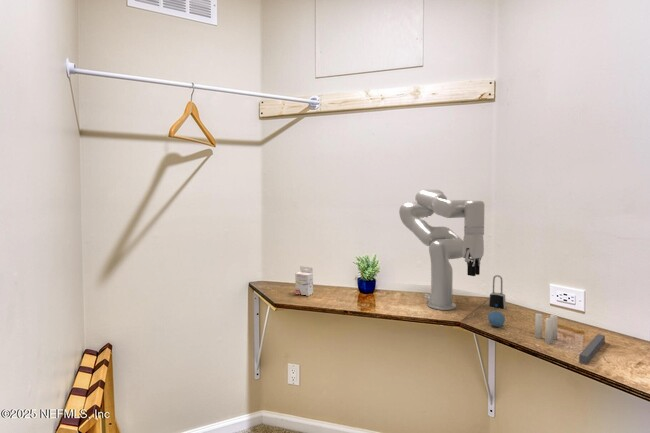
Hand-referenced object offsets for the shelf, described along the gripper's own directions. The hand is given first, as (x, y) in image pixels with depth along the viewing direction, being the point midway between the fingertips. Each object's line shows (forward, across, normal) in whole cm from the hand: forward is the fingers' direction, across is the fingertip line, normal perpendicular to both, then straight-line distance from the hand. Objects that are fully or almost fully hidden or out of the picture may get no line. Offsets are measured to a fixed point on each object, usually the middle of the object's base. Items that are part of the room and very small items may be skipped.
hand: (473, 274), depth 145 cm
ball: (+16, 0, +10) cm, 19 cm away
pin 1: (+19, +2, +28) cm, 34 cm away
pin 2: (+19, -2, +28) cm, 34 cm away
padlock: (+19, -25, 0) cm, 32 cm away
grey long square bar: (+19, 0, +40) cm, 45 cm away
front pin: (+19, 0, +24) cm, 31 cm away
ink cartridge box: (+19, +28, -78) cm, 86 cm away
